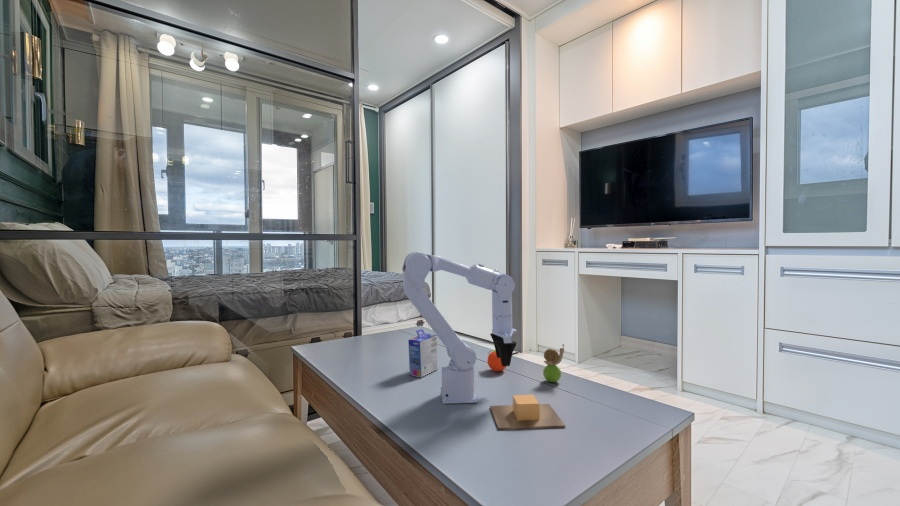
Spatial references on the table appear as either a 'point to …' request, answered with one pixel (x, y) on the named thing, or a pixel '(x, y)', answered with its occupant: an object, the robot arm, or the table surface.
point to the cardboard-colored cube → (526, 407)
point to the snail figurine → (552, 364)
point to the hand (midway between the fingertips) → (503, 361)
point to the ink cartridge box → (423, 354)
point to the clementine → (495, 362)
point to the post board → (509, 421)
